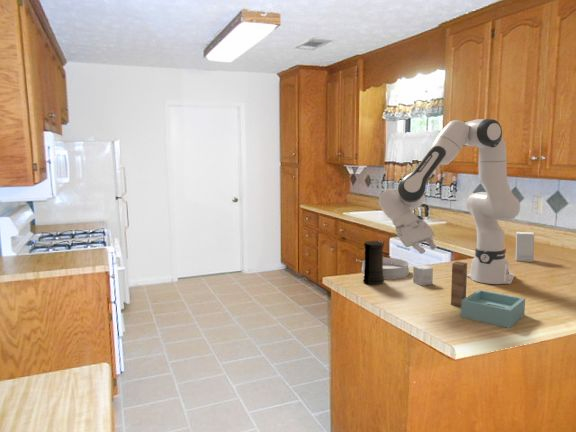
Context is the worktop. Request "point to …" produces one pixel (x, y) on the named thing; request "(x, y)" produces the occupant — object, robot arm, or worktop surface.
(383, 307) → the worktop surface
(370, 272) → the container
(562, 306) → the worktop surface
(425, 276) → the skincare box
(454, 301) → the peg
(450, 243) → the worktop surface
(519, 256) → the skincare box
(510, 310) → the socket
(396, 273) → the dish
